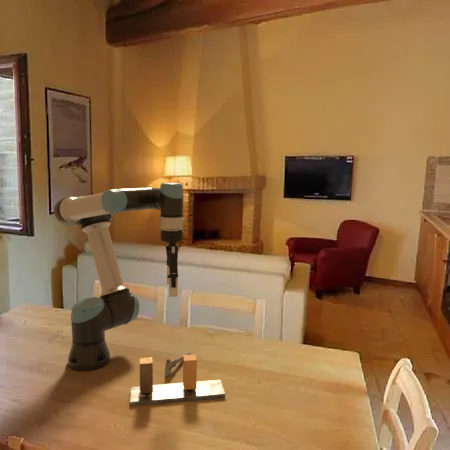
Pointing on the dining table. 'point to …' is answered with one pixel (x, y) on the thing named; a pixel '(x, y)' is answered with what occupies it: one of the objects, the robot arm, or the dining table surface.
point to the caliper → (173, 364)
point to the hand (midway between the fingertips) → (171, 290)
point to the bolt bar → (170, 389)
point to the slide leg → (189, 372)
